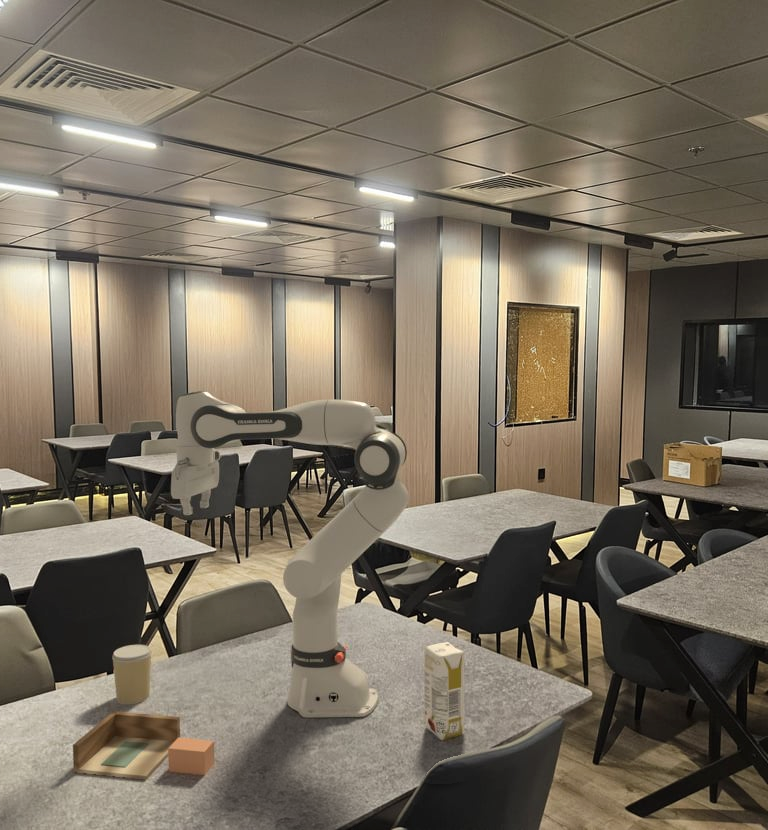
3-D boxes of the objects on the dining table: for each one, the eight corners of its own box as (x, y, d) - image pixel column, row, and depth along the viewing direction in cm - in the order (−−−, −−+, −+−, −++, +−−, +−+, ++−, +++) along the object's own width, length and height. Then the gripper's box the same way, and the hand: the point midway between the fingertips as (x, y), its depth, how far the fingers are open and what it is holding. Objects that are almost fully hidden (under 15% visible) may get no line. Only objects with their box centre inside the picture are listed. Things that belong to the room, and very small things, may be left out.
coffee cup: (160, 692, 185) (159, 646, 184) (136, 708, 176) (135, 660, 176) (130, 687, 188) (128, 642, 187) (105, 702, 179) (103, 655, 179)
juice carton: (440, 743, 158) (440, 658, 157) (420, 726, 166) (420, 645, 165) (469, 735, 162) (469, 652, 161) (448, 719, 170) (448, 639, 169)
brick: (214, 764, 151) (214, 740, 151) (205, 775, 147) (204, 751, 146) (179, 760, 152) (178, 737, 152) (168, 772, 148) (168, 748, 148)
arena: (180, 742, 160) (179, 716, 159) (146, 779, 145) (145, 751, 145) (113, 736, 162) (113, 711, 162) (73, 772, 148) (72, 744, 147)
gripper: (188, 461, 170) (189, 519, 171) (223, 452, 190) (224, 504, 191) (163, 461, 171) (164, 518, 172) (200, 451, 191) (201, 503, 192)
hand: (196, 511), depth 182 cm, fingers open, 8 cm apart
